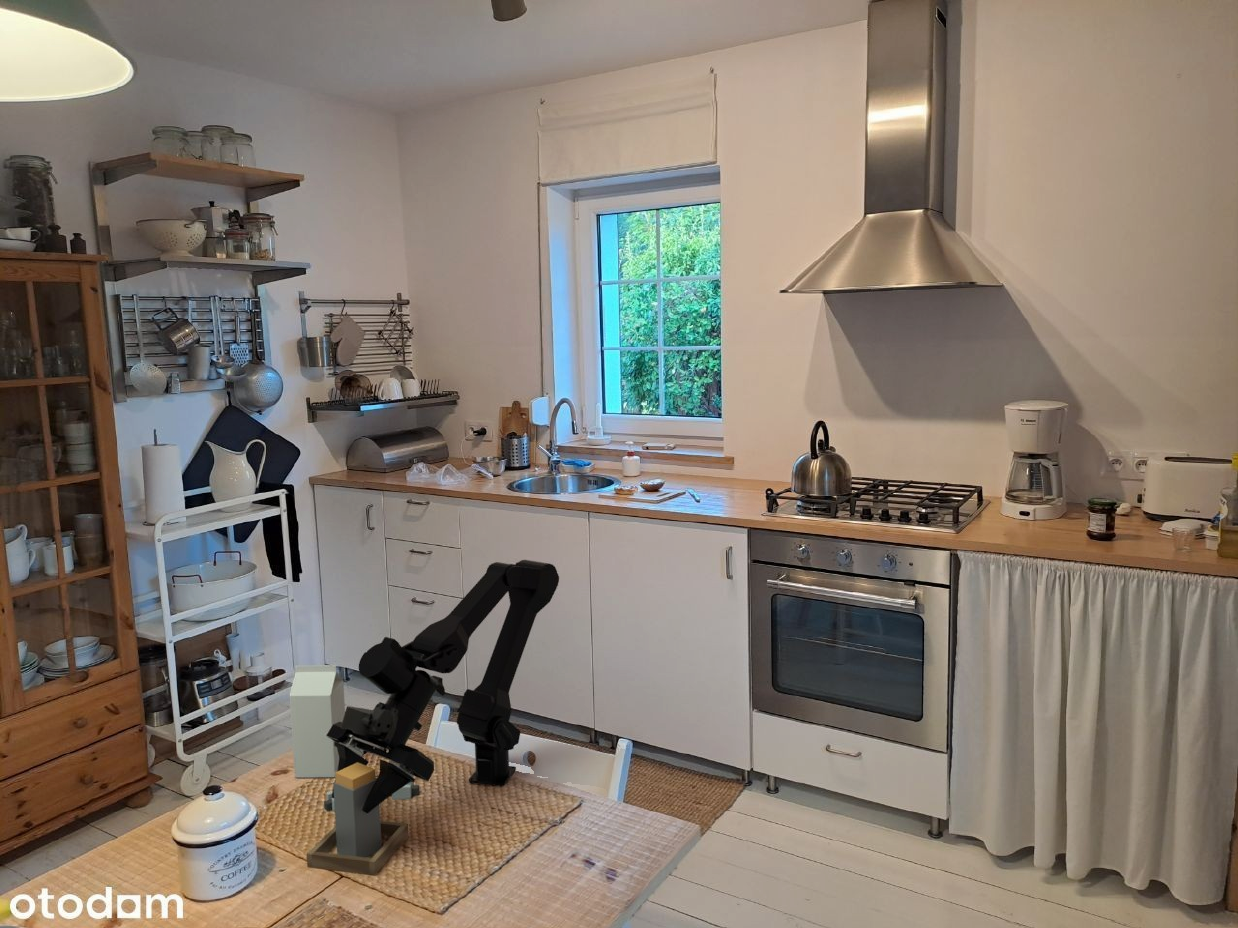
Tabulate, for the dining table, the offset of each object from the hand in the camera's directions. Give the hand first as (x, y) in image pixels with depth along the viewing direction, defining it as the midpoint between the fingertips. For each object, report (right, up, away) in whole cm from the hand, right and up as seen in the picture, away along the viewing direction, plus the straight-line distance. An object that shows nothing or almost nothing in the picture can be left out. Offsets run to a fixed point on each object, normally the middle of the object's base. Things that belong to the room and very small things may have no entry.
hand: (349, 805), depth 131 cm
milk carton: (-13, -5, +29) cm, 32 cm away
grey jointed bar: (-1, -6, +17) cm, 18 cm away
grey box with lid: (+1, -8, +2) cm, 8 cm away
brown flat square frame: (+1, -8, +2) cm, 8 cm away
